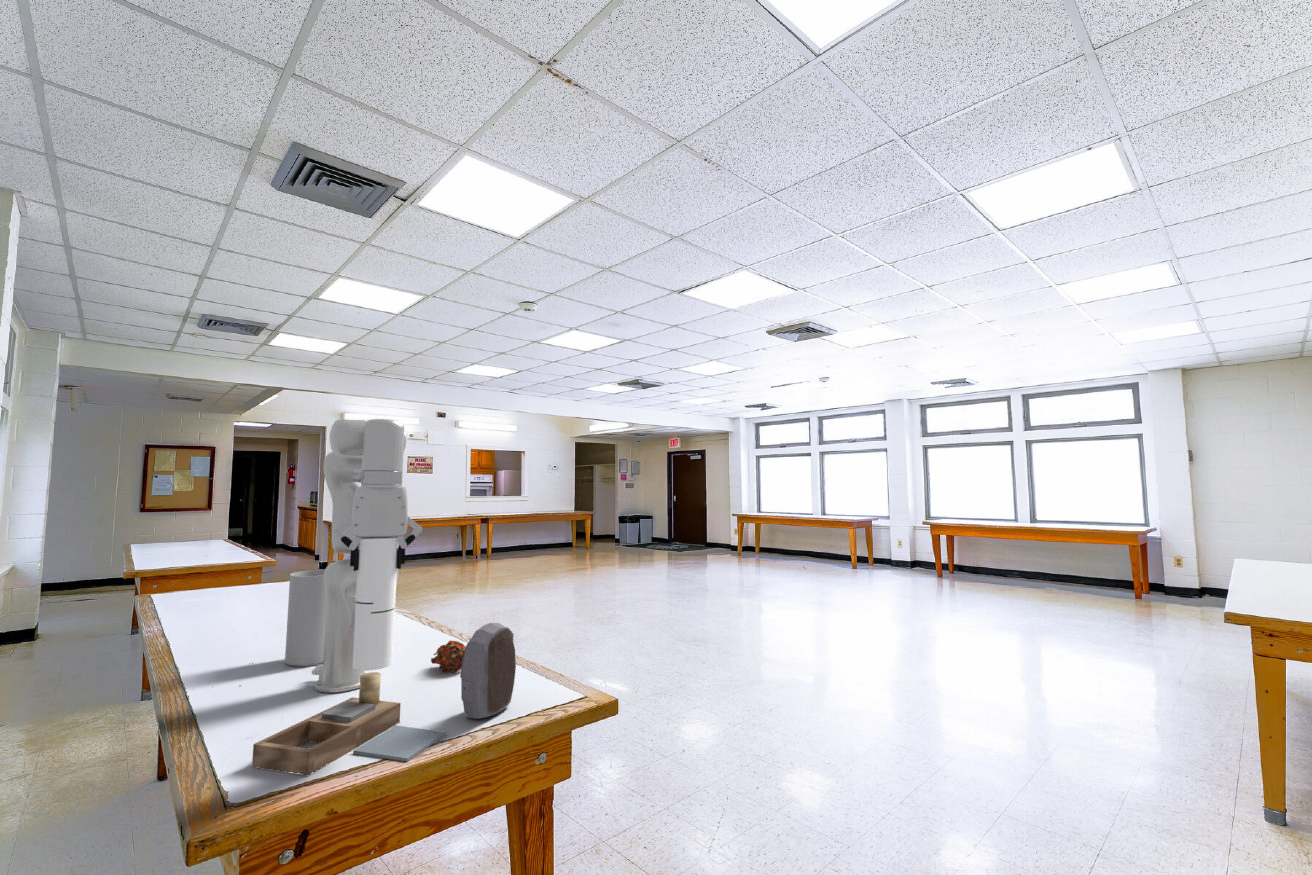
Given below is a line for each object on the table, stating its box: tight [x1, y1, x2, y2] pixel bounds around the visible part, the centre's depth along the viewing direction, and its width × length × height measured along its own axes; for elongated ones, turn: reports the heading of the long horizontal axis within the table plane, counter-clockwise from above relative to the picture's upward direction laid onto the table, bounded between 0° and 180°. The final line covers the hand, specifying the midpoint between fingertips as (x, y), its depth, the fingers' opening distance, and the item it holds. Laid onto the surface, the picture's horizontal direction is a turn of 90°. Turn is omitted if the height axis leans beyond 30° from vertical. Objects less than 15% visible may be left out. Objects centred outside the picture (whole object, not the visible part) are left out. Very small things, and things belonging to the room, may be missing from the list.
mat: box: [352, 724, 447, 762], centre depth 116 cm, size 12×12×1 cm
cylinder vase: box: [284, 569, 326, 668], centre depth 169 cm, size 12×12×25 cm
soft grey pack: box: [459, 622, 517, 719], centre depth 133 cm, size 15×8×20 cm, turn 160°
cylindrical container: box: [353, 537, 398, 672], centre depth 116 cm, size 7×7×25 cm
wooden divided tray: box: [251, 671, 402, 776], centre depth 116 cm, size 12×24×10 cm, turn 166°
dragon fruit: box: [430, 640, 466, 673], centre depth 162 cm, size 8×8×12 cm
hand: (377, 568), depth 116 cm, fingers closed on cylindrical container, 7 cm apart
